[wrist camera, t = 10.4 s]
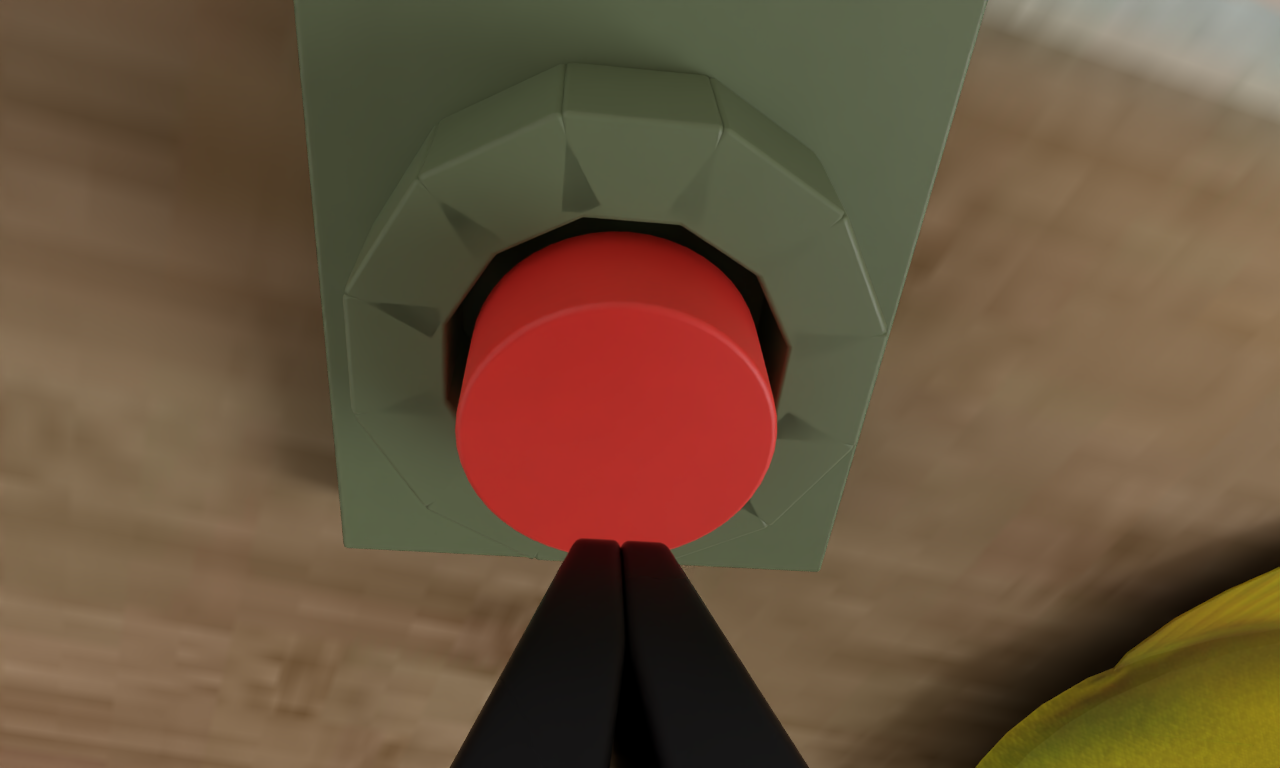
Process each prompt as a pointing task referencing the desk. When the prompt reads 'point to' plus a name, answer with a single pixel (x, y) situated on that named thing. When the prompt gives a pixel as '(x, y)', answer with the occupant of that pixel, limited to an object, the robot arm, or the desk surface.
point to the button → (615, 395)
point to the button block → (615, 215)
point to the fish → (1171, 696)
